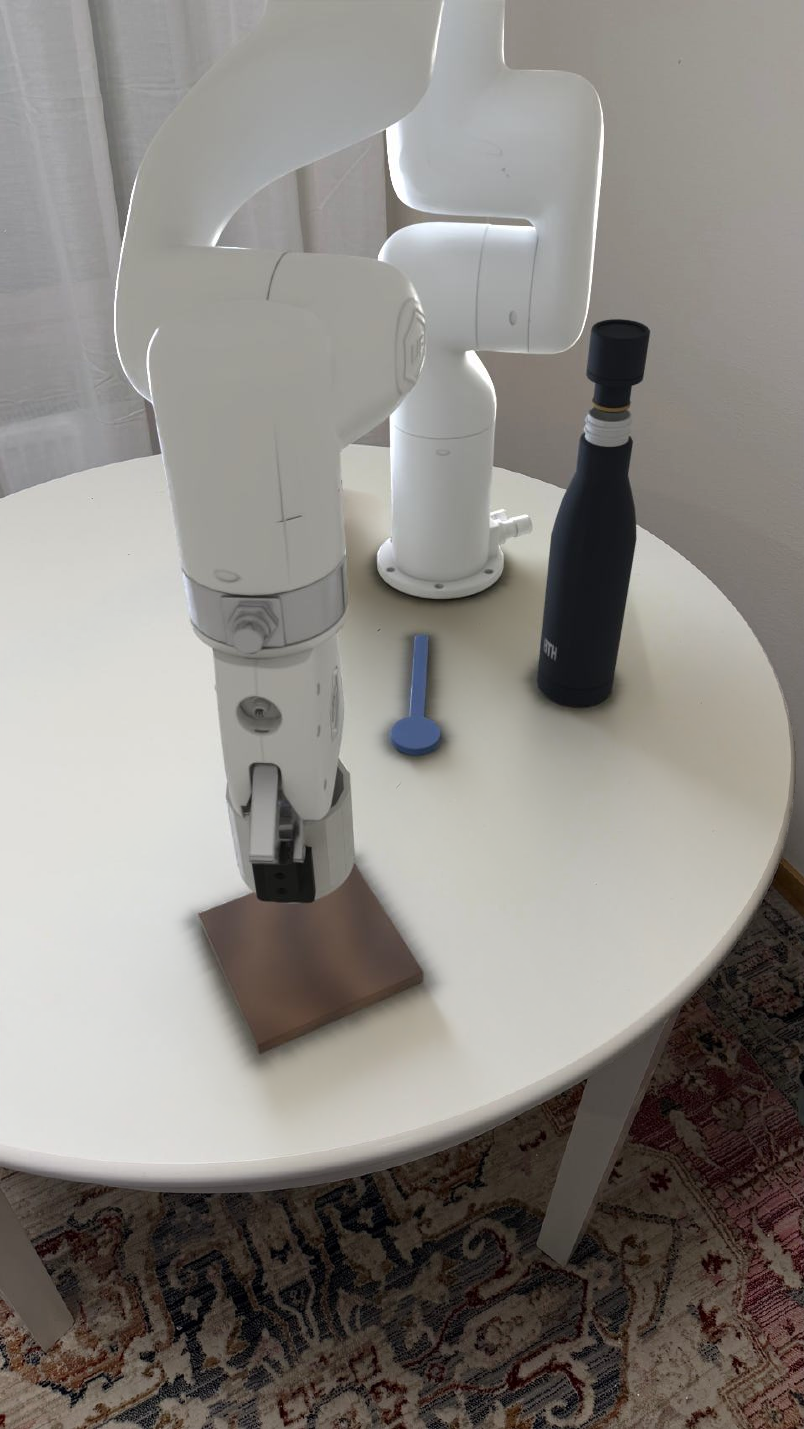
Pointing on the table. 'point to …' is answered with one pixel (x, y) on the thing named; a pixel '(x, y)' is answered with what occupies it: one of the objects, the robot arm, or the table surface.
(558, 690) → the insulated water bottle
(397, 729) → the spoon
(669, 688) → the table surface
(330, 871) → the pot
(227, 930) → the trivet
